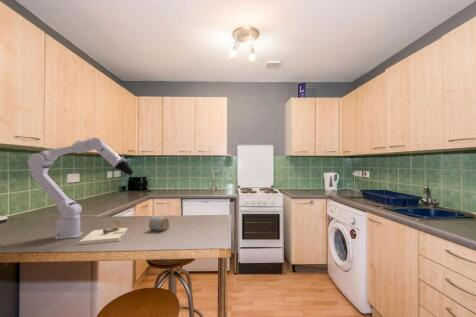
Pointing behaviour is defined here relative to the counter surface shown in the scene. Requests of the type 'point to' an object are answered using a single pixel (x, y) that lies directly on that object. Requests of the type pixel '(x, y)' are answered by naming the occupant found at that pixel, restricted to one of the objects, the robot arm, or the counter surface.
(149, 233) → the counter surface
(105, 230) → the wooden handled crank
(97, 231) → the board
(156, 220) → the grey cylinder
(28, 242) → the counter surface
